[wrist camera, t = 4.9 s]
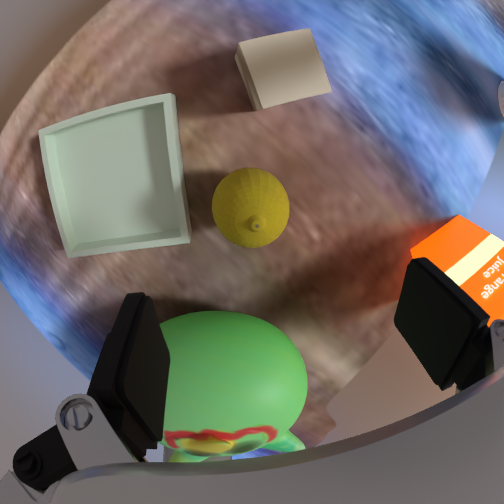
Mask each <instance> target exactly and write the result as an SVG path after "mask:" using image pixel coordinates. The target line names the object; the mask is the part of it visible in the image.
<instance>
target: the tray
mask: <svg viewBox="0 0 504 504" xmlns="http://www.w3.org/2000/svg"><path fill="white" fill-rule="evenodd" d="M38 131H39V139H40V147H41V153H42V160H43V165H44V171H45V176H46V181H47V186H48V191H49V195H50V199H51V203H52V207H53V211H54V215H55V219H56V222H57V226H58V229H59V233H60V236H61V239H62V243H63V246H64V249H65V252H66V255H67V258H73V257H80V256H88V255H95V254H103V253H111V252H119V251H127V250H135V249H143V248H151V247H159V246H167V245H176V244H184V243H190V239H191V235H192V227H191V221H190V214H189V207H188V200H187V193H186V186H185V178H184V171H183V163H182V154H181V145H180V136H179V127H178V117H177V106H176V96H175V95H173V94H172V93H167V94H161V95H156V96H151V97H146V98H141V99H137V100H132V101H128V102H124V103H120V104H116V105H112V106H109V107H105V108H101V109H98V110H95V111H91V112H88V113H85V114H82V115H79V116H76V117H73V118H70V119H67V120H64V121H61V122H58V123H56V124H53V125H51V126H48V127H45V128H43V129H40V130H38Z"/></svg>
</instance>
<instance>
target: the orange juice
mask: <svg viewBox="0 0 504 504" xmlns="http://www.w3.org/2000/svg"><path fill="white" fill-rule="evenodd" d="M410 250H411V254H412V258H413V259H414V258H420V257H426V258H428V259H429V260H430V261H431V262H433V263H434V264H435V265H436V266H437V267H438V268H439V269H441V270H442V271H443V272H444V273H445V274H446V275H447V276H449V277H450V278H451V279H452V280H453V281H454V282H455V283H456V284H457V285H459V286H460V287H461V288H462V289H463V290H464V291H465V292H466V293H467V294H468V295H469V296H470V297H471V298H472V299H473V300H474V301H475V302H476V303H477V304H478V305H480V306H481V307H482V308H483V309H484V310H485V311H486V312H487V314H488V315H489V316H490V319H489V321H488V323H487V326H488V327H490V325H491V323H492V321H494V320H496V319H503V320H504V242H503V241H502V240H500V239H499V238H497V237H496V236H494V235H493V234H490V233H488V232H487V231H485V230H484V229H482V228H481V227H479V226H477V225H476V224H474V223H472V222H471V221H469V220H467V219H466V218H464V217H462V216H460V215H458V216H456V217H455V218H454V219H452V220H451V221H450V222H448V223H447V224H446V225H444V226H443V227H441V228H440V229H439V230H437V231H436V232H435V233H433V234H432V235H430V236H429V237H428V238H426V239H425V240H423V241H422V242H420V243H419V244H418V245H416V246H415V247H413V248H412V249H410Z"/></svg>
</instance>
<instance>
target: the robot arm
mask: <svg viewBox="0 0 504 504" xmlns="http://www.w3.org/2000/svg"><path fill="white" fill-rule="evenodd" d="M489 319H490V316H489V315H488V314H487V312H486V311H485V310H484V309H483V308H482V307H481V306H480V305H478V304H477V303H476V302H475V301H474V300H473V299H472V298H471V297H470V296H469V295H468V294H467V293H466V292H465V291H464V290H463V289H462V288H461V287H460V286H459V285H457V284H456V283H455V282H454V281H453V280H452V279H451V278H450V277H449V276H447V275H446V274H445V273H444V272H443V271H442V270H441V269H439V268H438V267H437V266H436V265H435V264H434V263H433V262H431V261H430V260H429V259H428V258H426V257H420V258H414V259H412V260H411V261H410V263H409V264H408V266H407V270H406V274H405V278H404V283H403V287H402V291H401V295H400V298H399V302H398V306H397V309H396V313H395V316H394V324H395V326H396V328H397V329H398V330H399V332H400V333H401V335H402V336H403V337H404V339H405V340H406V342H407V343H408V345H409V346H410V347H411V349H412V350H413V352H414V353H415V355H416V356H417V358H418V359H419V361H420V362H421V363H422V365H423V367H424V368H425V370H426V371H427V373H428V374H429V375H430V377H431V379H432V380H433V382H434V383H435V384H436V385H438V386H439V387H440V389H441V390H442V391H443V390H445V389H447V388H449V387H451V386H452V385H453V383H454V382H455V383H456V385H457V386H456V393H455V395H454V396H452V397H450V398H448V399H446V400H444V401H442V402H440V403H438V404H436V405H434V406H432V407H430V408H428V409H425V410H423V411H421V412H419V413H416V414H414V415H412V416H409V417H407V418H405V419H402V420H400V421H397V422H395V423H392V424H389V425H387V426H384V427H381V428H378V429H376V430H373V431H370V432H367V433H364V434H361V435H358V436H355V437H351V438H347V439H344V440H340V441H337V442H333V443H330V444H325V445H321V446H317V447H313V448H308V449H303V450H298V451H293V452H288V453H282V454H276V455H270V456H263V457H255V458H246V459H236V460H232V455H231V456H220V457H209V458H207V459H205V460H203V461H201V462H168V461H169V459H170V458H171V456H172V454H173V452H174V450H173V449H171V448H168V447H166V446H164V455H163V462H148V461H147V460H146V459H145V458H144V456H145V455H146V449H157V443H158V441H162V439H163V427H164V416H165V405H166V395H167V385H168V377H169V368H170V352H169V349H168V347H167V344H166V341H165V339H164V336H163V333H162V330H161V327H160V324H159V321H158V318H157V315H156V312H155V309H154V306H153V303H152V300H151V297H150V296H146V295H145V294H144V293H143V292H139V293H128V294H127V295H126V297H125V299H124V302H123V304H122V306H121V309H120V311H119V314H118V316H117V319H116V321H115V324H114V326H113V329H112V331H111V332H110V333H109V334H108V335H107V337H106V340H105V342H104V345H103V348H102V350H101V353H100V356H99V359H98V362H97V364H96V367H95V370H94V373H93V376H92V379H91V382H90V385H89V388H88V392H87V395H85V394H74V395H72V396H69V397H67V398H66V399H65V400H63V401H62V403H61V404H60V405H59V406H58V409H57V411H56V417H55V419H56V425H55V426H53V427H52V428H50V429H49V430H47V431H45V432H44V433H42V434H41V435H39V436H37V437H36V438H34V439H33V440H31V441H29V442H28V443H26V444H25V445H23V446H22V447H20V448H19V449H18V450H17V452H16V453H15V455H14V458H13V469H14V471H13V472H11V471H10V470H8V472H7V473H6V474H5V475H4V476H3V478H2V479H1V480H0V504H504V320H503V319H496V320H494V321H492V323H491V325H490V327H488V326H487V323H488V321H489Z"/></svg>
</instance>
